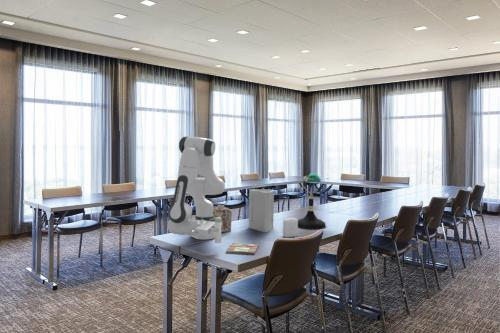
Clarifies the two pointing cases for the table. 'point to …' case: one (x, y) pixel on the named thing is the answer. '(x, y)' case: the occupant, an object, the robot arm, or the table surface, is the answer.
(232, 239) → the table surface
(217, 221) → the marker
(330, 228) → the table surface
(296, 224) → the photo printer
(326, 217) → the table surface
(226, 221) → the decorative jar
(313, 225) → the banker's lamp
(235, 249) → the picture board
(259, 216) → the paper bag
